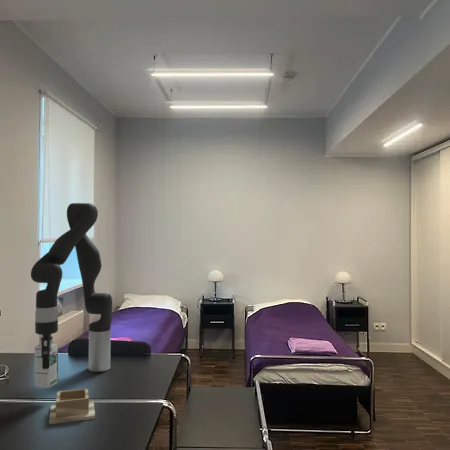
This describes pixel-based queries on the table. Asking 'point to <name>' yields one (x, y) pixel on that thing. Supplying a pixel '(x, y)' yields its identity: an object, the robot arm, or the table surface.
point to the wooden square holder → (72, 407)
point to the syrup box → (49, 375)
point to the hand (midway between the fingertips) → (46, 365)
